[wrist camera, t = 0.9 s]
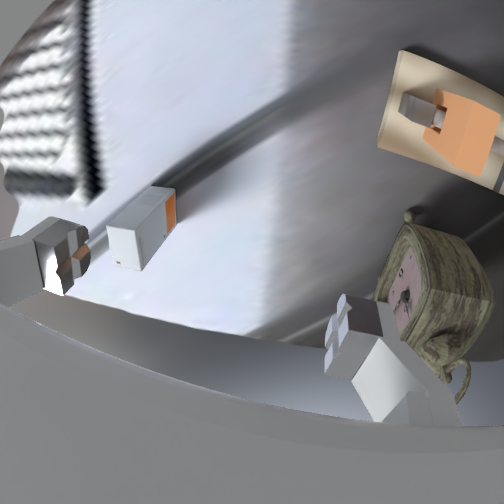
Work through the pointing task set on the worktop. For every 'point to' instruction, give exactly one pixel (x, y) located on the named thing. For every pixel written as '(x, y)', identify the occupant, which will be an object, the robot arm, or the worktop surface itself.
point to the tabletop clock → (436, 296)
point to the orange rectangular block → (463, 132)
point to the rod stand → (435, 116)
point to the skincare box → (142, 227)
